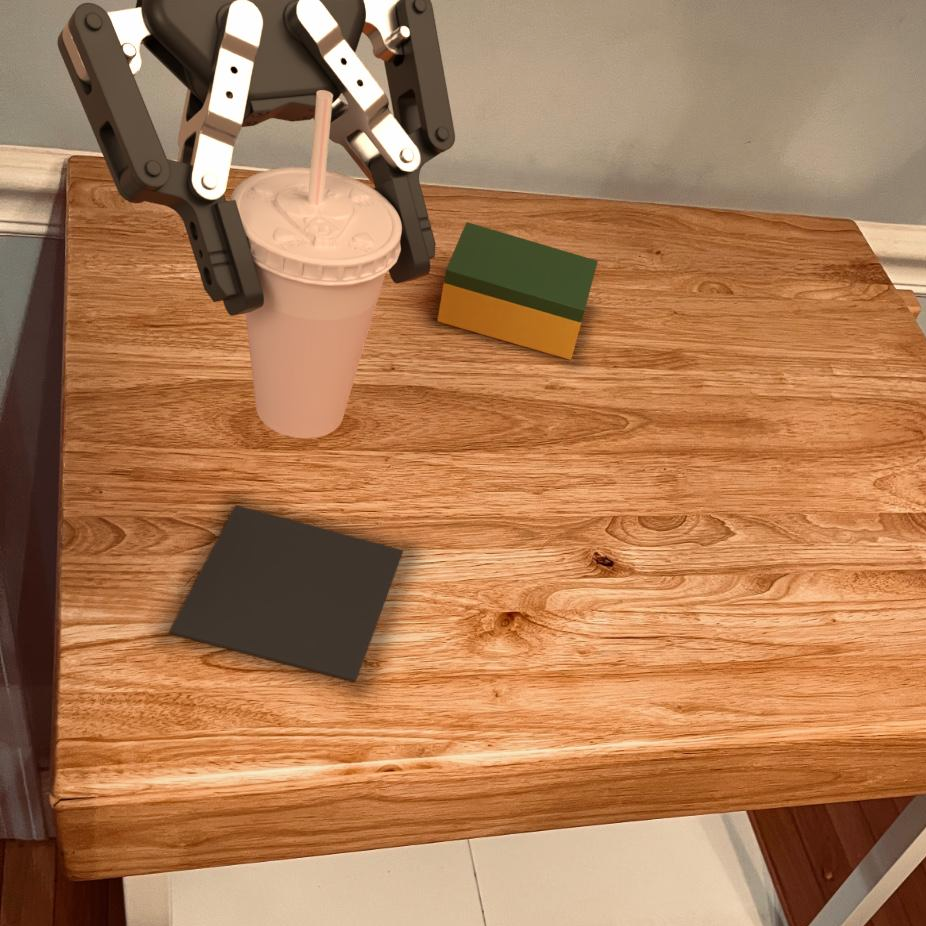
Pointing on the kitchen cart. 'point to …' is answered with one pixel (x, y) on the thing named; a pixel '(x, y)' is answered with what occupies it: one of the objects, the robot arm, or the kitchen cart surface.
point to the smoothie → (313, 284)
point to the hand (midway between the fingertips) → (333, 293)
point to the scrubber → (516, 290)
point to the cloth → (290, 593)
